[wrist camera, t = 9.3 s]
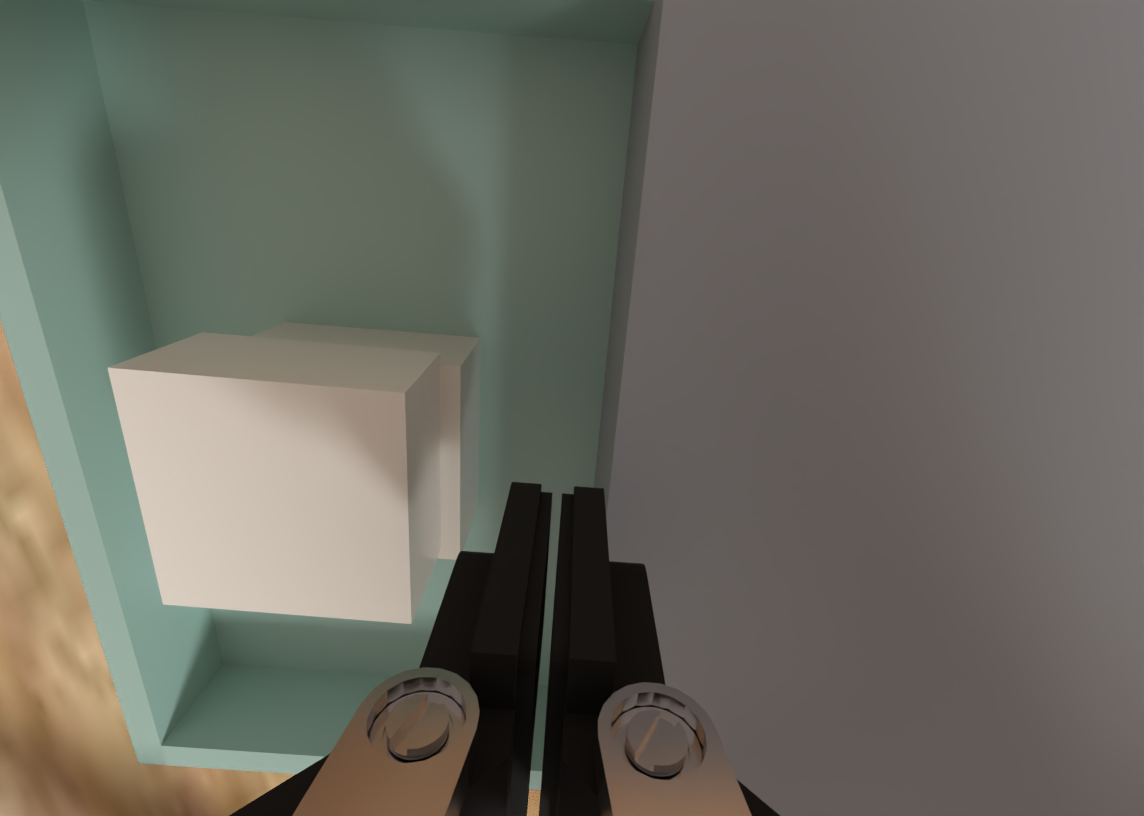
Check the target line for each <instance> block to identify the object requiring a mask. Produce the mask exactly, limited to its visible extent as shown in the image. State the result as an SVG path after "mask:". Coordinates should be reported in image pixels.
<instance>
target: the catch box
mask: <svg viewBox="0 0 1144 816" xmlns="http://www.w3.org/2000/svg"><path fill="white" fill-rule="evenodd" d="M653 3H654V0H0V320H1V323H2V327H3V330H4V333H5V336H6V339H7V343H8V346H9V349H10V352H11V355H12V359H13V362H14V365H15V368H16V372H17V375H18V378H19V381H20V384H21V388H22V391H23V394H24V397H25V400H26V404H27V407H28V410H29V413H30V416H31V420H32V423H33V426H34V429H35V432H36V436H37V439H38V442H39V445H40V449H41V452H42V455H43V458H44V461H45V465H46V468H47V471H48V474H49V477H50V481H51V484H52V487H53V490H54V493H55V497H56V500H57V503H58V506H59V510H60V513H61V516H62V519H63V522H64V526H65V529H66V532H67V535H68V538H69V542H70V545H71V548H72V551H73V554H74V558H75V561H76V564H77V567H78V570H79V574H80V577H81V580H82V583H83V587H84V590H85V593H86V596H87V599H88V603H89V606H90V609H91V612H92V615H93V619H94V622H95V625H96V628H97V631H98V635H99V638H100V641H101V644H102V648H103V651H104V654H105V657H106V660H107V664H108V667H109V670H110V673H111V676H112V680H113V683H114V686H115V689H116V692H117V696H118V699H119V702H120V705H121V708H122V712H123V715H124V718H125V721H126V725H127V728H128V731H129V734H130V737H131V741H132V744H133V747H134V750H135V753H136V757H137V760H138V763H140V764H155V765H170V766H185V767H200V768H215V769H230V770H245V771H261V772H276V773H291V774H298V773H299V772H301V771H303V770H304V769H306V768H307V767H309V766H311V765H312V764H314V763H315V762H317V761H319V760H320V759H322V758H324V757H325V756H327V755H328V754H330V753H331V752H332V750H333V748H334V747H335V745H336V743H337V742H338V740H339V739H340V737H341V735H342V734H343V732H344V730H345V729H346V727H347V726H348V724H349V722H350V721H351V719H352V717H353V716H354V714H355V712H356V711H357V709H358V708H359V706H360V704H361V703H362V702H363V701H364V699H365V698H366V697H367V696H368V695H369V693H370V692H371V691H372V690H373V689H374V688H375V687H377V686H378V685H380V684H381V683H382V682H384V681H385V680H386V679H388V678H390V677H392V676H394V675H397V674H399V673H401V672H404V671H406V670H412V669H417V668H419V667H420V664H421V661H422V658H423V655H424V652H425V649H426V646H427V643H428V641H429V638H430V635H431V632H432V629H433V626H434V623H435V620H436V617H437V614H438V611H439V608H440V606H441V603H442V600H443V597H444V594H445V591H446V588H447V585H448V582H449V579H450V576H451V573H452V570H453V568H454V565H455V562H456V560H452V559H439V558H437V561H436V563H435V566H434V568H433V571H432V573H431V576H430V578H429V581H428V584H427V586H426V589H425V591H424V594H423V596H422V599H421V601H420V604H419V606H418V609H417V611H416V614H415V616H414V619H413V622H412V624H404V623H391V622H379V621H366V620H353V619H341V618H328V617H315V616H303V615H290V614H277V613H265V612H252V611H239V610H227V609H214V608H201V607H189V606H176V605H163V602H162V598H161V594H160V590H159V585H158V581H157V577H156V573H155V568H154V564H153V560H152V556H151V551H150V547H149V543H148V538H147V534H146V530H145V526H144V521H143V517H142V513H141V509H140V504H139V500H138V496H137V492H136V487H135V483H134V479H133V475H132V470H131V466H130V462H129V458H128V453H127V449H126V445H125V441H124V436H123V432H122V428H121V424H120V419H119V415H118V411H117V406H116V402H115V398H114V394H113V389H112V385H111V381H110V377H109V372H108V367H110V366H113V365H116V364H119V363H121V362H124V361H127V360H129V359H132V358H135V357H137V356H140V355H143V354H145V353H148V352H151V351H154V350H156V349H159V348H162V347H164V346H167V345H170V344H172V343H175V342H178V341H180V340H183V339H186V338H188V337H191V336H194V335H197V334H199V333H202V332H205V333H217V334H229V335H240V336H254V335H256V334H258V333H261V332H263V331H265V330H267V329H270V328H272V327H274V326H277V325H279V324H281V323H283V322H290V323H303V324H316V325H328V326H341V327H354V328H366V329H379V330H391V331H404V332H417V333H429V334H442V335H455V336H467V337H480V338H481V344H480V405H479V467H478V507H477V510H476V513H475V516H474V519H473V522H472V525H471V528H470V531H469V534H468V537H467V540H466V544H465V547H464V550H463V551H471V552H485V553H494V552H495V548H496V544H497V540H498V536H499V532H500V528H501V523H502V519H503V515H504V511H505V507H506V503H507V499H508V495H509V491H510V486H511V483H512V482H522V483H536V484H542V490H541V492H551V493H553V494H552V510H551V524H550V539H549V554H548V569H547V584H546V598H545V613H544V626H543V637H542V649H541V660H540V671H539V682H538V693H537V704H536V716H535V727H534V738H533V749H532V760H531V772H530V783H529V789H532V790H541V780H542V765H543V751H544V736H545V722H546V708H547V693H548V679H549V665H550V650H551V636H552V622H553V608H554V595H555V581H556V568H557V554H558V541H559V528H560V514H561V501H562V493H565V494H573V493H574V486H578V487H592V488H594V482H595V471H596V461H597V451H598V441H599V431H600V421H601V411H602V400H603V390H604V380H605V370H606V360H607V350H608V340H609V329H610V319H611V309H612V299H613V289H614V279H615V269H616V258H617V248H618V238H619V228H620V218H621V208H622V198H623V187H624V177H625V167H626V157H627V147H628V137H629V127H630V116H631V106H632V96H633V86H634V76H635V66H636V56H637V45H638V42H639V40H640V37H641V34H642V32H643V29H644V27H645V24H646V21H647V19H648V16H649V13H650V11H651V8H652V5H653Z"/></svg>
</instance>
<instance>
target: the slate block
mask: <svg viewBox="0 0 1144 816" xmlns="http://www.w3.org/2000/svg"><path fill="white" fill-rule="evenodd" d="M594 488H604V495H605V509H606V523H607V537H608V551H609V561H613V562H627V563H641V564H644V565H645V568H646V572H647V578H648V584H649V590H650V595H651V601H652V607H653V613H654V619H655V625H656V631H657V637H658V643H659V649H660V655H661V661H662V667H663V673H664V679H665V685H666V686H669V687H672V688H675V689H678V690H680V691H681V692H683V693H684V694H686V695H688V696H689V697H691V698H693V699H694V700H695V701H696V702H697V703H698V704H699V705H700V706H701V707H702V708H703V709H704V710H705V711H706V712H707V714H708V716H709V717H710V719H711V721H712V722H713V724H714V726H715V728H716V730H717V732H718V734H719V737H720V739H721V742H722V744H723V747H724V749H725V752H726V754H727V756H728V759H729V761H730V764H731V766H732V769H733V771H734V774H735V776H736V778H737V780H738V781H740V782H741V783H742V784H743V785H744V786H746V787H747V788H748V789H749V790H750V791H751V792H753V793H754V794H755V795H756V796H757V797H759V798H760V799H761V800H762V801H763V802H765V803H766V804H767V805H768V806H769V807H770V808H772V809H773V810H774V811H775V812H776V813H778V814H779V815H780V816H1144V0H654V3H653V5H652V8H651V11H650V13H649V16H648V19H647V21H646V24H645V27H644V29H643V32H642V34H641V37H640V40H639V42H638V45H637V56H636V66H635V76H634V86H633V96H632V106H631V116H630V127H629V137H628V147H627V157H626V167H625V177H624V187H623V198H622V208H621V218H620V228H619V238H618V248H617V258H616V269H615V279H614V289H613V299H612V309H611V319H610V329H609V340H608V350H607V360H606V370H605V380H604V390H603V400H602V411H601V421H600V431H599V441H598V451H597V461H596V471H595V482H594Z"/></svg>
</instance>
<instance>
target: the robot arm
mask: <svg viewBox="0 0 1144 816" xmlns="http://www.w3.org/2000/svg"><path fill="white" fill-rule="evenodd" d="M541 490H542V484H536V483H522V482H512V483H511V486H510V491H509V495H508V499H507V503H506V507H505V511H504V515H503V519H502V523H501V528H500V532H499V536H498V540H497V544H496V548H495V552H494V553H485V552H471V551H460V552H459V554H458V556H457V559H456V562H455V565H454V568H453V570H452V573H451V576H450V579H449V582H448V585H447V588H446V591H445V594H444V597H443V600H442V603H441V606H440V608H439V611H438V614H437V617H436V620H435V623H434V626H433V629H432V632H431V635H430V638H429V641H428V643H427V646H426V649H425V652H424V655H423V658H422V661H421V664H420V667H419V668H417V669H412V670H406V671H404V672H401V673H399V674H397V675H394V676H392V677H390V678H388V679H386V680H385V681H384V682H382V683H381V684H380V685H378V686H377V687H375V688H374V689H373V690H372V691H371V692H370V693H369V695H368V696H367V697H366V698H365V699H364V701H363V702H362V703H361V704H360V706H359V708H358V709H357V711H356V712H355V714H354V716H353V717H352V719H351V721H350V722H349V724H348V726H347V727H346V729H345V730H344V732H343V734H342V735H341V737H340V739H339V740H338V742H337V743H336V745H335V747H334V748H333V750H332V752H331V753H330V754H328V755H327V756H325V757H324V758H322V759H320V760H319V761H317V762H315V763H314V764H312V765H311V766H309V767H307V768H306V769H304V770H303V771H301V772H299V773H298V774H296V775H294V776H293V777H291V778H290V779H288V780H286V781H285V782H283V783H281V784H280V785H278V786H277V787H275V788H273V789H272V790H270V791H269V792H267V793H265V794H264V795H262V796H260V797H259V798H257V799H256V800H254V801H252V802H251V803H249V804H247V805H246V806H244V807H243V808H241V809H239V810H238V811H236V812H235V813H233V814H231V815H230V816H527V805H528V794H529V783H530V772H531V760H532V749H533V738H534V727H535V716H536V704H537V693H538V682H539V671H540V660H541V649H542V637H543V626H544V613H545V598H546V584H547V569H548V554H549V539H550V524H551V510H552V494H553V493H551V492H541ZM539 816H780V815H779V814H778V813H776V812H775V811H774V810H773V809H772V808H770V807H769V806H768V805H767V804H766V803H765V802H763V801H762V800H761V799H760V798H759V797H757V796H756V795H755V794H754V793H753V792H751V791H750V790H749V789H748V788H747V787H746V786H744V785H743V784H742V783H741V782H740V781H738V780H737V778H736V776H735V774H734V771H733V769H732V766H731V764H730V761H729V759H728V756H727V754H726V752H725V749H724V747H723V744H722V742H721V739H720V737H719V734H718V732H717V730H716V728H715V726H714V724H713V722H712V721H711V719H710V717H709V716H708V714H707V712H706V711H705V710H704V709H703V708H702V707H701V706H700V705H699V704H698V703H697V702H696V701H695V700H694V699H693V698H691V697H689V696H688V695H686V694H684V693H683V692H681V691H680V690H678V689H675V688H672V687H669V686H666V685H665V679H664V673H663V667H662V661H661V655H660V649H659V643H658V637H657V631H656V625H655V619H654V613H653V607H652V601H651V595H650V590H649V584H648V578H647V572H646V568H645V565H644V564H641V563H627V562H613V561H609V551H608V537H607V523H606V509H605V495H604V488H592V487H578V486H574V493H573V494H565V493H562V501H561V514H560V528H559V541H558V554H557V568H556V581H555V595H554V608H553V622H552V636H551V650H550V665H549V679H548V693H547V708H546V722H545V736H544V751H543V765H542V780H541V794H540V808H539Z"/></svg>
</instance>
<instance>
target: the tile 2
mask: <svg viewBox="0 0 1144 816" xmlns="http://www.w3.org/2000/svg"><path fill="white" fill-rule="evenodd" d="M252 337H263V338H275V339H287V340H298V341H310V342H322V343H333V344H345V345H356V346H368V347H380V348H391V349H403V350H414V351H426V352H438V353H440V432H441V551H440V553H439V556H438V558H439V559H452V560H456V559H457V556H458V554H459V552H460V551H463V550H464V547H465V544H466V540H467V537H468V534H469V531H470V528H471V525H472V522H473V519H474V516H475V513H476V510H477V507H478V467H479V405H480V344H481V338H480V337H467V336H455V335H442V334H429V333H417V332H404V331H391V330H379V329H366V328H354V327H341V326H328V325H316V324H303V323H290V322H283V323H281V324H279V325H277V326H274V327H272V328H270V329H267V330H265V331H263V332H261V333H258V334H256V335H254V336H252Z"/></svg>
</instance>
